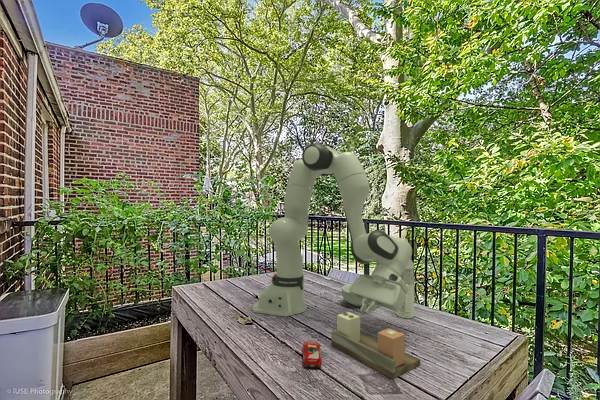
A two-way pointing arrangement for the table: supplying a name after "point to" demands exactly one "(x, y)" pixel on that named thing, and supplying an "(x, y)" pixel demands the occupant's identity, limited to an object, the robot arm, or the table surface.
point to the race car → (312, 354)
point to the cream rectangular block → (349, 325)
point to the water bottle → (408, 305)
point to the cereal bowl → (349, 297)
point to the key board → (372, 354)
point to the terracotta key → (392, 345)
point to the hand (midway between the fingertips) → (364, 312)
